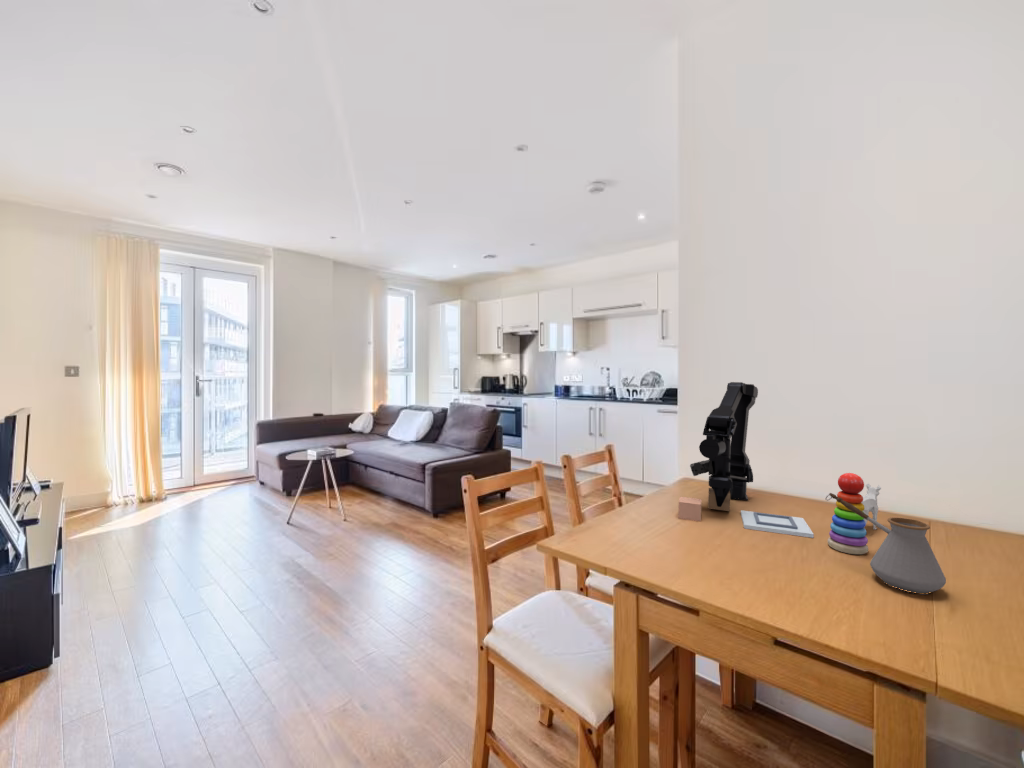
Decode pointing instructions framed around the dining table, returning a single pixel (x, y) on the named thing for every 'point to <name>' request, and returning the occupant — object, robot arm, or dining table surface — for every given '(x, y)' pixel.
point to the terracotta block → (689, 508)
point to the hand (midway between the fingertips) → (718, 503)
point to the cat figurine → (871, 502)
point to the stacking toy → (849, 518)
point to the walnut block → (713, 504)
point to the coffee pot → (904, 554)
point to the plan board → (776, 523)
